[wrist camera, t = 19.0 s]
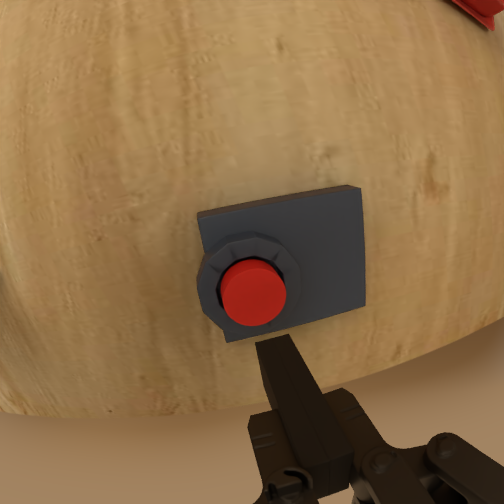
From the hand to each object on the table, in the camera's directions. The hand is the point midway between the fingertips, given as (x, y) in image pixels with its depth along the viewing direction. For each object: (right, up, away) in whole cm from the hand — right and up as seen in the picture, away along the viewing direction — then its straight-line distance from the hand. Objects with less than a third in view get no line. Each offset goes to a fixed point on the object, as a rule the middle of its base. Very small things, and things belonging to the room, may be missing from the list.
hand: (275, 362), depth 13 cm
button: (-1, +3, +8) cm, 8 cm away
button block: (+2, +4, +11) cm, 12 cm away
